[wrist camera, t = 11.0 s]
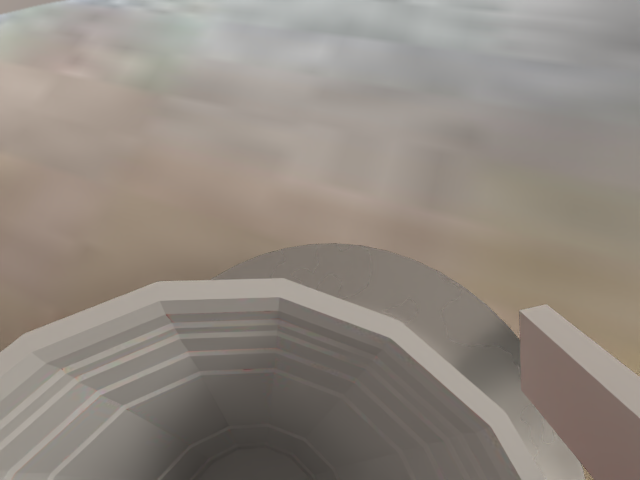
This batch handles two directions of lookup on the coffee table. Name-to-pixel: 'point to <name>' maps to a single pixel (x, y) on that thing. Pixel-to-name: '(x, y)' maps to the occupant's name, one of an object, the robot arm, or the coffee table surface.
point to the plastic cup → (244, 393)
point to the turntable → (427, 326)
